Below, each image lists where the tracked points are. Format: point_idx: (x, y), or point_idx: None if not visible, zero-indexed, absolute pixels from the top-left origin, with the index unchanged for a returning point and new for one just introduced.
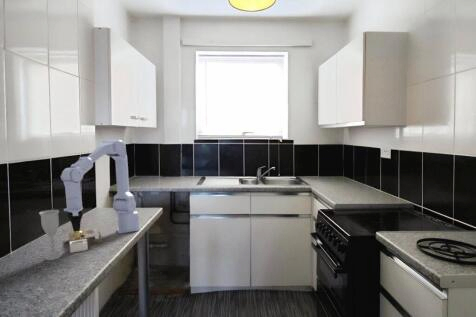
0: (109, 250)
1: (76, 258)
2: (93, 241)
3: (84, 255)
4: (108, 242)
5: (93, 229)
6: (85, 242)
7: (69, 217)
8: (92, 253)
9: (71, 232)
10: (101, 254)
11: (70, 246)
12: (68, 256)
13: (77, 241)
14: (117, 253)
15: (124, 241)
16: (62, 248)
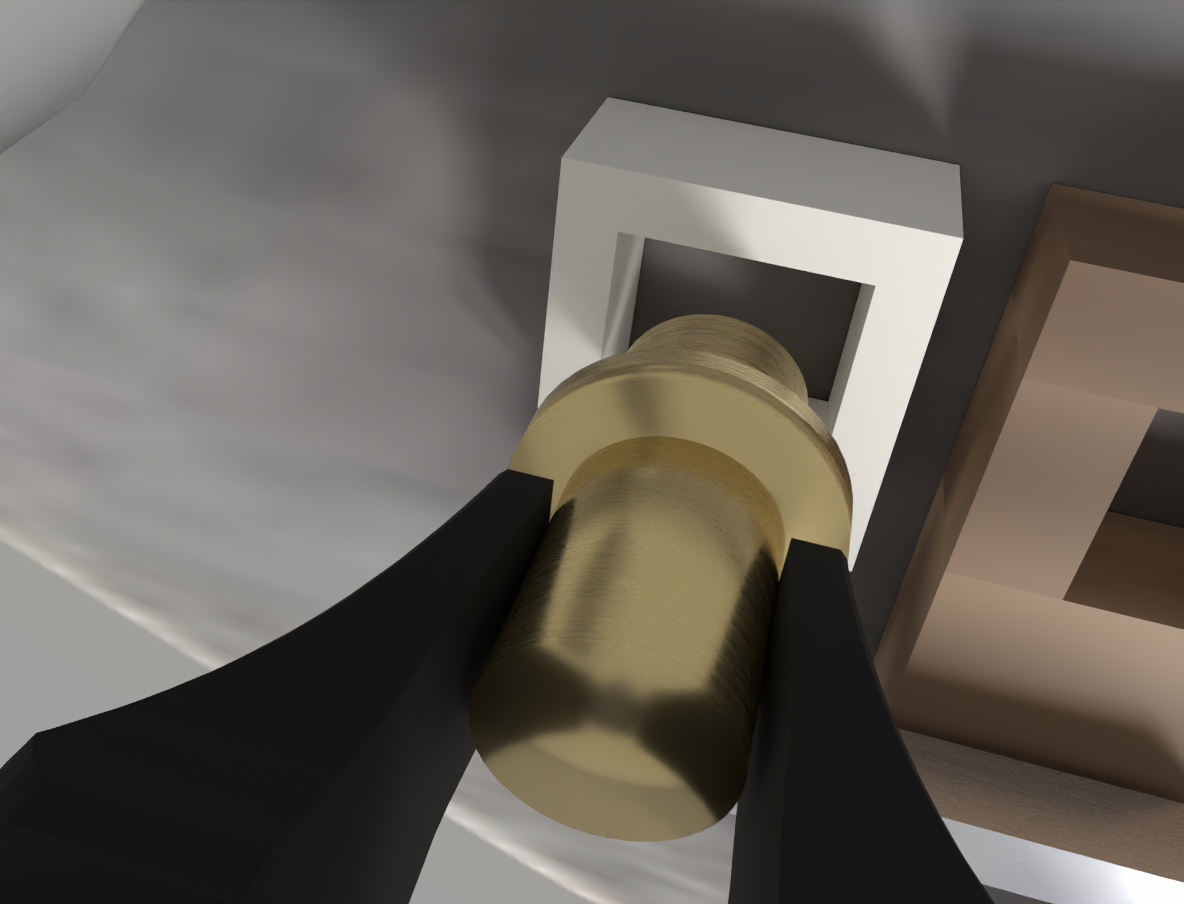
0: (311, 599)
1: (158, 110)
2: (897, 624)
3: (262, 266)
4: None
5: (1135, 876)
6: None
7: (12, 766)
8: (302, 393)
9: (698, 413)
10: (177, 466)
11: (567, 160)
12: (369, 5)
13: (845, 388)
14: (120, 608)
15: (621, 863)
16: (1179, 11)
